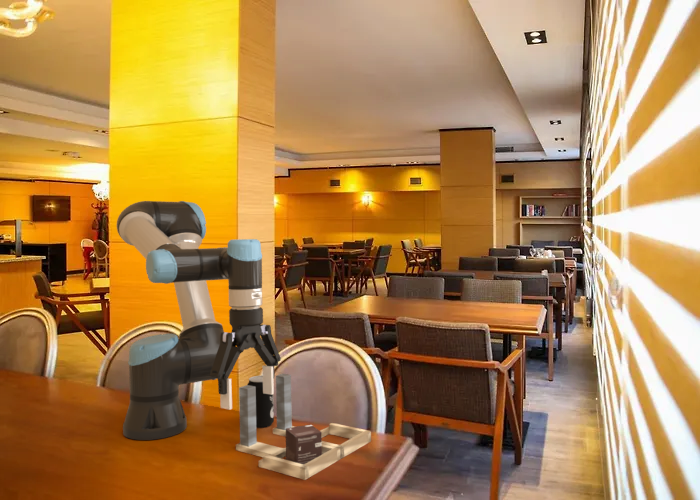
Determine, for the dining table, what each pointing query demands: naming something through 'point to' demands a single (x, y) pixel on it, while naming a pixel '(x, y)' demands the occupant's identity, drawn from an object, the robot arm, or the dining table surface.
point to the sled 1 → (274, 453)
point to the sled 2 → (354, 434)
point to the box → (303, 444)
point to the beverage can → (262, 403)
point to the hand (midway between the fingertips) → (248, 400)
